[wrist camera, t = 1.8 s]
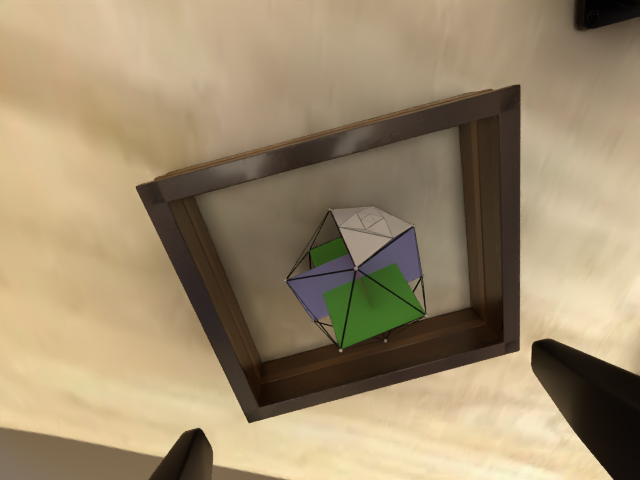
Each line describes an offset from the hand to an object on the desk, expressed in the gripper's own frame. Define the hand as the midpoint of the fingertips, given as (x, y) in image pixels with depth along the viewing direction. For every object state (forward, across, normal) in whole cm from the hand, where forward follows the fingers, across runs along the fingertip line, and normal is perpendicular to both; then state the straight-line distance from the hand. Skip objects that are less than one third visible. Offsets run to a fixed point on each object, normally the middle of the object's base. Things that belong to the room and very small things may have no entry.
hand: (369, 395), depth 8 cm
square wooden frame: (+12, -1, +2) cm, 12 cm away
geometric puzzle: (+12, -1, +2) cm, 12 cm away
